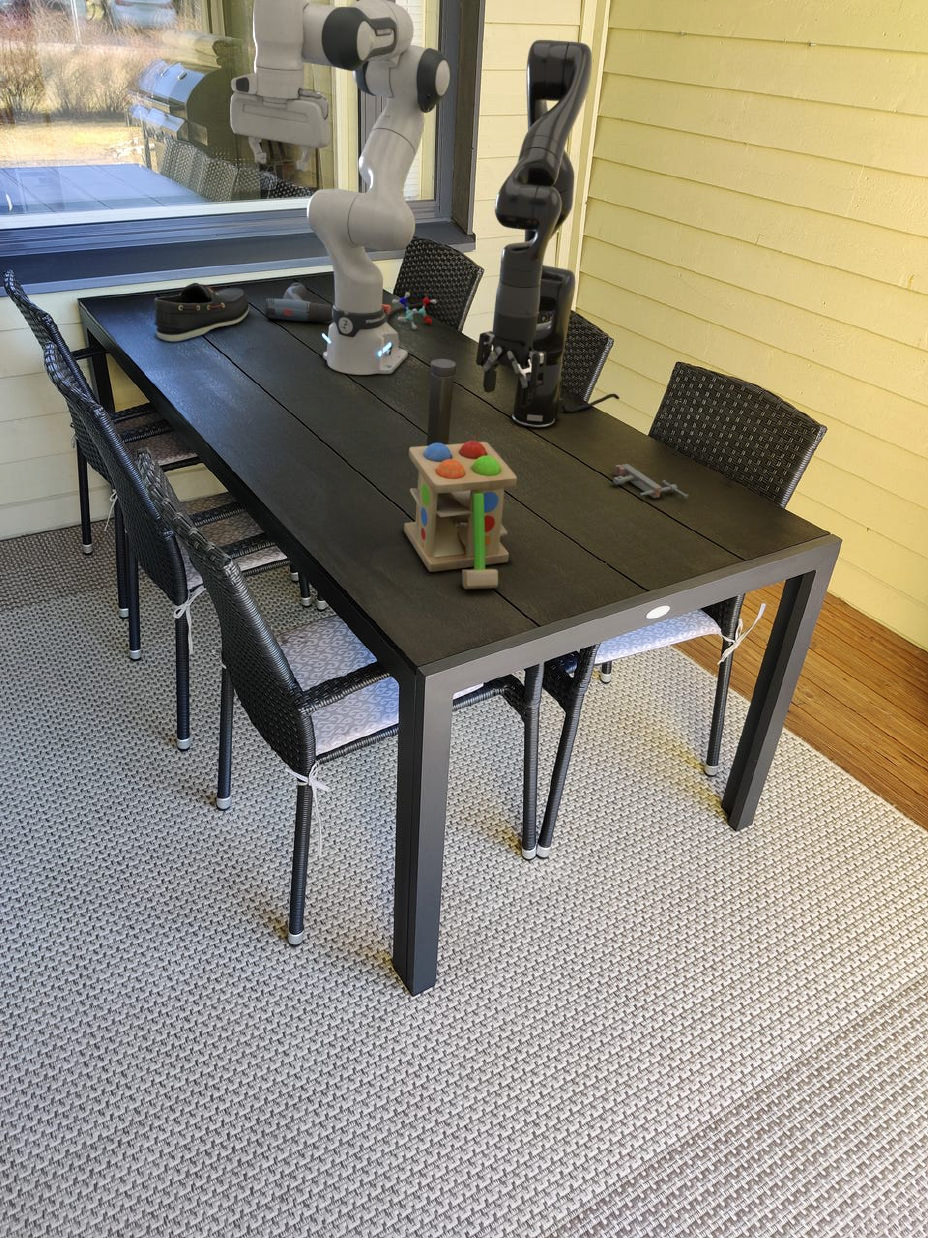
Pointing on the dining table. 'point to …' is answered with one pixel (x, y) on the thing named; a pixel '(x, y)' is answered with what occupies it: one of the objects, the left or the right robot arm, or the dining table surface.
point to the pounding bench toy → (460, 509)
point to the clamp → (624, 475)
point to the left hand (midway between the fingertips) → (281, 166)
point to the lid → (443, 367)
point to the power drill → (297, 306)
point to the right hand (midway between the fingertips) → (506, 398)
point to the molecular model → (414, 310)
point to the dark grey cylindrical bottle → (440, 409)
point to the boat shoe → (198, 311)
